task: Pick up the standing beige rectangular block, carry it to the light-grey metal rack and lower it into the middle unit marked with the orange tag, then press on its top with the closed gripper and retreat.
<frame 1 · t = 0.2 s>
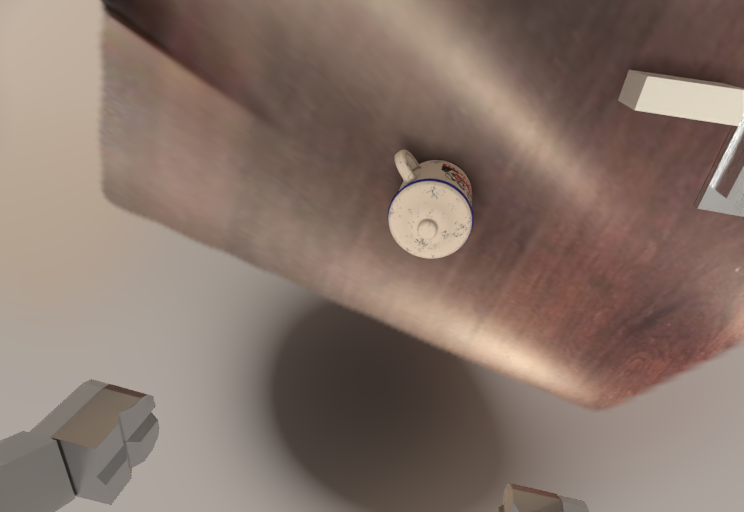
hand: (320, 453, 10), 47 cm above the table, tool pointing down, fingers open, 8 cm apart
beige rectangular block: (669, 91, 47), on the table
teacup with lid: (430, 183, 56), on the table
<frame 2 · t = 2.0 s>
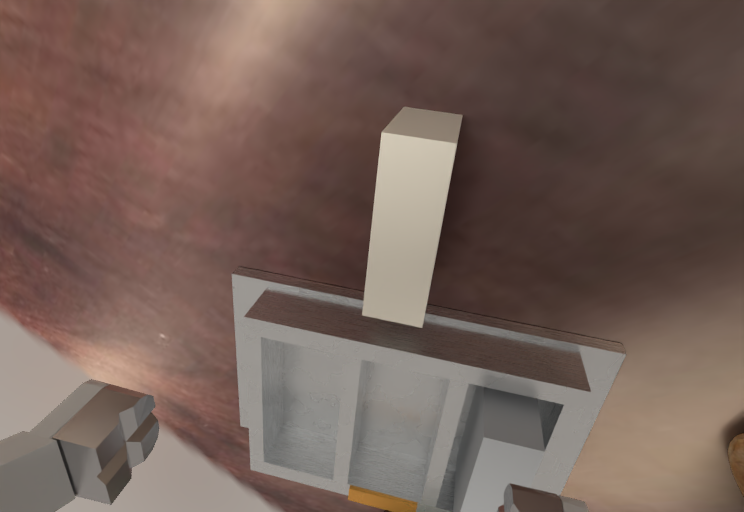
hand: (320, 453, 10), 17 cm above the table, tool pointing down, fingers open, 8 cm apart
rack: (404, 385, 32), on the table
grey panel: (491, 416, 30), resting on rack
beige rectangular block: (420, 193, 25), on the table
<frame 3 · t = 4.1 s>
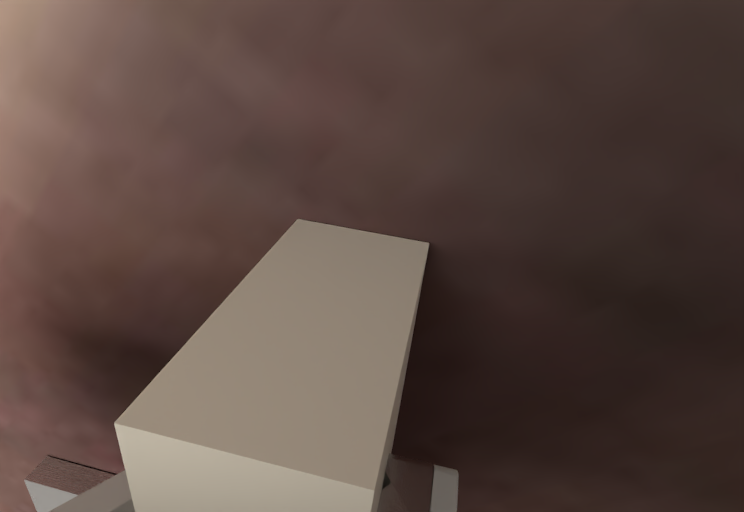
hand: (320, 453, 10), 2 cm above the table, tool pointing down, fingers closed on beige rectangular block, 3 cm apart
beige rectangular block: (347, 381, 12), on the table, touching gripper
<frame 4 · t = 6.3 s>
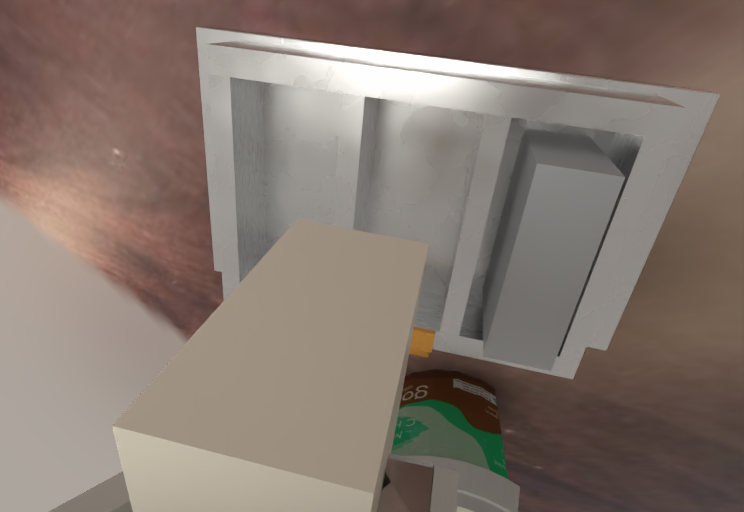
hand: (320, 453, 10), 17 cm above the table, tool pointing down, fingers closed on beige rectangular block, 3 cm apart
rack: (417, 194, 25), on the table
food container: (414, 396, 32), on the table
grey panel: (531, 220, 24), resting on rack
beige rectangular block: (346, 382, 12), point 15 cm above the table, touching gripper
when the fingers open (5 cm above the table, at t = 8.7 s): beige rectangular block drops 2 cm, resting on rack.
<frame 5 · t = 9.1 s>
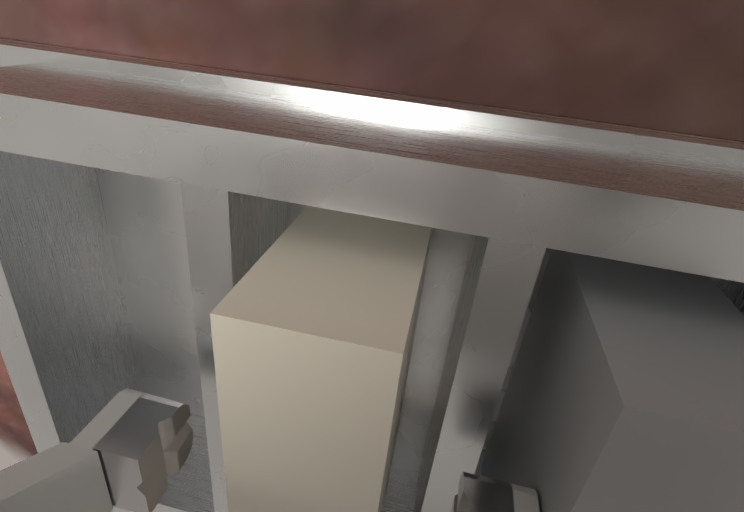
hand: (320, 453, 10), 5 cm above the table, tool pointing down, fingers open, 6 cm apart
rack: (372, 316, 15), on the table
grey panel: (566, 377, 13), resting on rack
beige rectangular block: (365, 332, 14), point 1 cm above the table, touching rack
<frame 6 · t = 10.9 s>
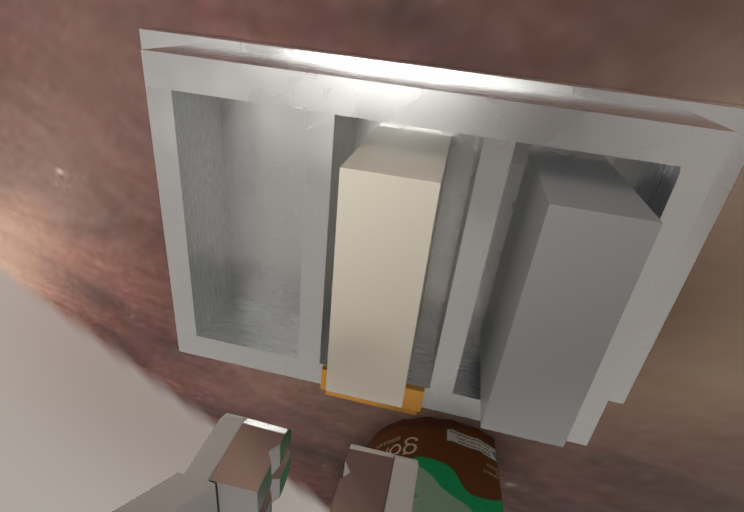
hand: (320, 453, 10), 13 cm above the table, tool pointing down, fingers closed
rack: (404, 223, 22), on the table
food container: (404, 444, 29), on the table
grey panel: (537, 256, 20), resting on rack
beige rectangular block: (401, 230, 21), point 1 cm above the table, touching rack
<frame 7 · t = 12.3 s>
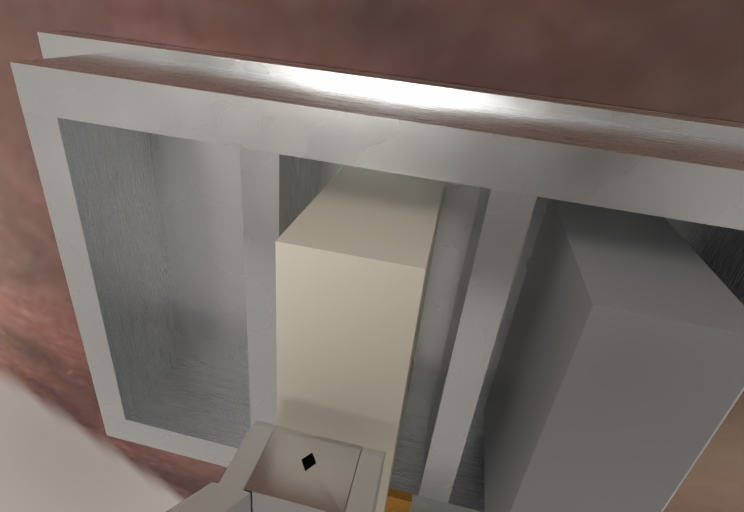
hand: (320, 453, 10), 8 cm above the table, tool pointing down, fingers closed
rack: (388, 277, 17), on the table
grey panel: (557, 326, 15), resting on rack
beige rectangular block: (382, 289, 16), point 1 cm above the table, touching rack
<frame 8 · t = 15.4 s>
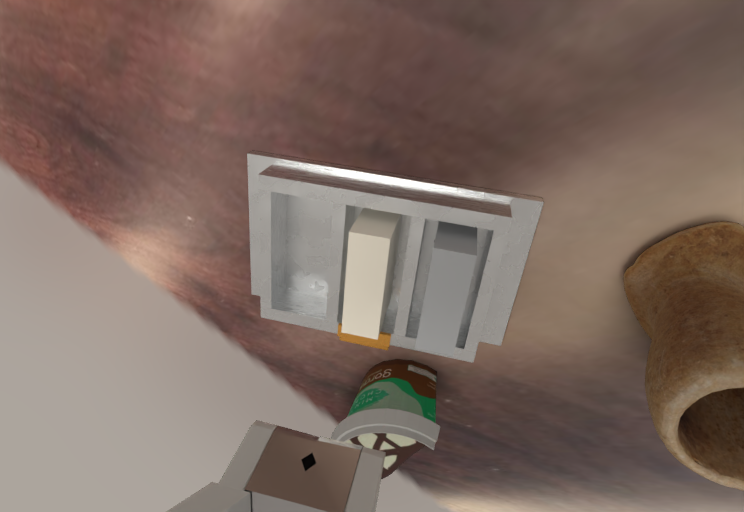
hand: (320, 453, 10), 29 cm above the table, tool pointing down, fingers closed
stone cup: (693, 305, 38), on the table
rack: (381, 248, 41), on the table
food container: (385, 378, 48), on the table
grey panel: (448, 266, 39), resting on rack
beige rectangular block: (379, 253, 40), point 1 cm above the table, touching rack
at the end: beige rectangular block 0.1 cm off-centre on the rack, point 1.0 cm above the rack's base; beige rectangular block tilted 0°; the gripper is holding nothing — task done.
